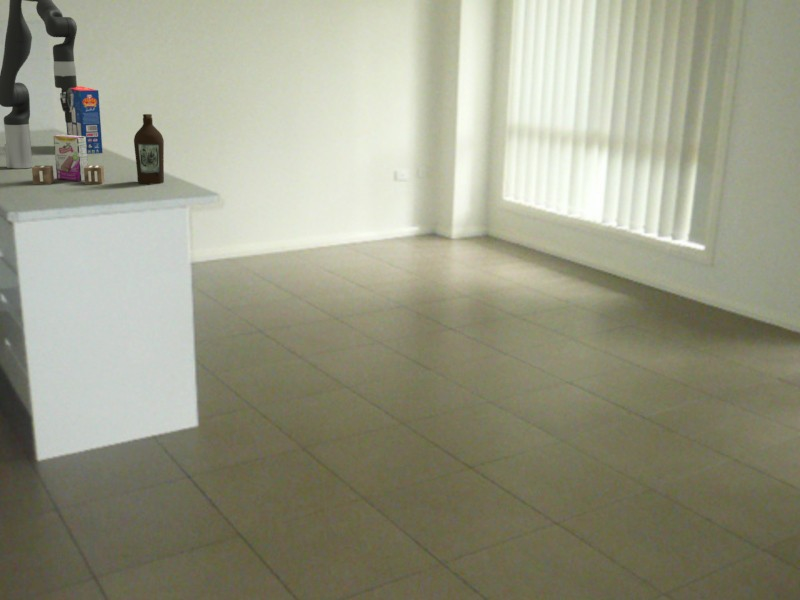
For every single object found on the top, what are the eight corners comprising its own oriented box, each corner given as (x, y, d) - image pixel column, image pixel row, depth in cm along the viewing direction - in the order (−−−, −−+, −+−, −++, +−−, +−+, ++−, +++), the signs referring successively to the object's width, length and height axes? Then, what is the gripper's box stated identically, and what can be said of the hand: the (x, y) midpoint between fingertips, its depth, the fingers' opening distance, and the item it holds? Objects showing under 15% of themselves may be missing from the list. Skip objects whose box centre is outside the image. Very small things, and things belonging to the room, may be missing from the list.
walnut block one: (33, 184, 331) (31, 167, 330) (37, 181, 337) (35, 165, 335) (50, 184, 332) (49, 167, 330) (54, 181, 338) (52, 165, 336)
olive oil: (136, 180, 345) (133, 113, 338) (165, 179, 348) (162, 113, 341) (135, 184, 335) (131, 115, 328) (165, 184, 338) (162, 115, 331)
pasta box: (102, 153, 416) (98, 90, 408) (84, 154, 411) (80, 90, 403) (85, 146, 438) (80, 86, 430) (68, 146, 434) (63, 86, 426)
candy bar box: (56, 179, 342) (52, 135, 338) (64, 177, 347) (61, 134, 342) (81, 181, 339) (77, 137, 334) (89, 180, 343) (86, 135, 339)
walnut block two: (84, 184, 334) (83, 167, 332) (87, 181, 340) (86, 165, 338) (101, 184, 335) (100, 167, 333) (104, 181, 341) (103, 165, 339)
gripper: (57, 73, 338) (61, 120, 343) (50, 75, 325) (54, 124, 330) (79, 73, 339) (82, 121, 344) (72, 75, 326) (76, 124, 331)
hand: (69, 122), depth 337 cm, fingers closed
